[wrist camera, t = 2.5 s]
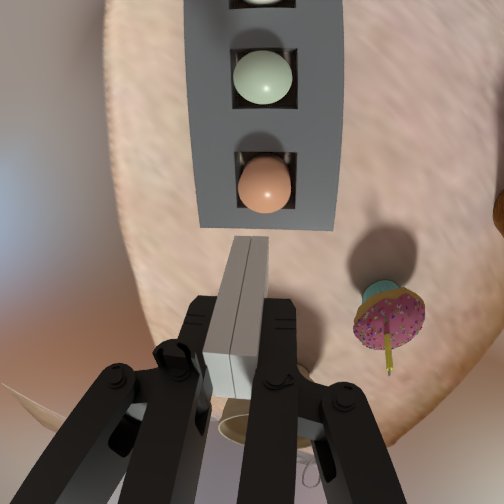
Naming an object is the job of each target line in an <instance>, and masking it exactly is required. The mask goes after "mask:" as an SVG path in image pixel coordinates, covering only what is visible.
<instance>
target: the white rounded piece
mask: <svg viewBox="0 0 504 504" xmlns="http://www.w3.org/2000/svg"><path fill="white" fill-rule="evenodd" d="M243 1H244V2H246V3H247V4H250V5H252V6H256V7H269V6H273V5H276V4H278V3H279V2H281V1H282V0H243Z"/></svg>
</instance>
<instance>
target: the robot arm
mask: <svg viewBox="0 0 504 504" xmlns="http://www.w3.org/2000/svg"><path fill="white" fill-rule="evenodd" d="M268 260H269V237H262V236H252V239H251V236H235V237H234V240H233V244H232V247H231V251H230V254H229V258H228V261H227V265H226V268H225V272H224V275H223V279H222V282H221V286H220V289H219V293H218V297H217V296H201V295H198V296H197V297H196V298H195V299H194V300H193V301H192V302H191V303H190V305H189V308H188V311H187V313H186V316H185V319H184V322H183V325H182V327H181V330H180V333H179V336H178V339H169V340H167V341H164V342H162V343H160V344H159V345H158V346H156V348H155V349H154V351H153V356H154V358H155V360H156V362H157V364H158V367H157V368H154V369H149V370H140V371H133V369H132V368H131V367H130V366H128V365H127V364H123V363H115V364H112V365H110V366H108V367H106V368H105V369H104V370H103V371H102V372H101V374H100V375H99V376H98V377H97V379H96V380H95V381H94V383H93V384H92V385H91V387H90V388H89V389H88V391H87V392H86V393H85V395H84V396H83V397H82V399H81V400H80V401H79V403H78V404H77V405H76V407H75V408H74V409H73V411H72V412H71V414H70V415H69V416H68V418H67V419H66V420H65V422H64V423H63V425H62V426H61V427H60V429H59V430H58V432H57V433H56V435H55V436H54V437H53V439H52V440H51V442H50V443H49V445H48V446H47V447H46V449H45V450H44V452H43V453H42V455H41V456H40V458H39V459H38V461H37V462H36V464H35V465H34V467H33V468H32V470H31V471H30V473H29V474H28V476H27V477H26V479H25V480H24V482H23V484H22V485H21V487H20V488H19V490H18V491H17V493H16V495H15V496H14V498H13V499H12V501H11V502H10V504H107V502H108V501H109V499H110V497H111V496H112V494H113V492H114V491H115V489H116V487H117V486H118V484H119V482H120V481H121V479H122V478H123V476H124V474H125V473H126V475H125V478H124V482H123V486H122V489H121V493H120V497H119V500H118V504H194V502H195V496H196V491H197V484H198V480H199V475H200V469H201V464H202V459H203V453H204V448H205V443H206V438H207V433H208V427H209V422H210V417H211V412H212V405H211V402H210V401H211V396H212V391H213V393H214V396H217V397H227V398H235V397H236V398H237V399H250V407H249V415H248V423H247V431H246V438H245V446H244V455H243V461H242V468H241V476H240V483H239V490H238V498H237V504H294V496H295V480H296V459H297V435H298V436H301V437H304V438H308V439H310V441H311V445H312V448H313V452H314V456H315V459H316V463H317V467H318V470H319V474H320V478H321V481H322V485H323V489H324V492H325V496H326V499H327V503H328V504H407V502H406V499H405V497H404V494H403V491H402V488H401V485H400V483H399V480H398V477H397V474H396V472H395V469H394V467H393V464H392V461H391V458H390V456H389V453H388V450H387V448H386V445H385V443H384V440H383V438H382V435H381V433H380V430H379V428H378V425H377V423H376V420H375V418H374V415H373V413H372V410H371V408H370V406H369V403H368V401H367V398H366V396H365V394H364V393H363V391H362V390H361V388H359V387H358V386H356V385H355V384H352V383H349V382H337V383H335V384H332V385H330V386H329V387H328V386H324V385H321V384H317V383H314V382H312V381H309V380H308V379H306V378H305V377H304V376H303V375H302V374H301V373H300V371H299V369H298V367H297V342H296V308H295V306H294V305H293V303H292V301H291V299H276V298H267V293H268Z"/></svg>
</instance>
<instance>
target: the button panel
mask: <svg viewBox="0 0 504 504" xmlns="http://www.w3.org/2000/svg"><path fill="white" fill-rule="evenodd" d="M184 39H185V63H186V82H187V98H188V112H189V125H190V137H191V148H192V159H193V169H194V179H195V188H196V197H197V205H198V214H199V222H200V228H245V229H283V230H313V231H333V228H334V219H335V211H336V202H337V192H338V182H339V170H340V158H341V144H342V126H343V103H344V27H343V6H342V0H294V8H246V9H234V0H184ZM255 51H270V52H296V107H295V106H238V101H237V89H236V87H235V85H234V80H233V74H234V70H235V67H236V53H244V52H255ZM240 152H295V184H294V196H290V197H289V200H288V201H287V203H286V204H285V205H284V206H283V207H282V208H281V209H279V210H277V211H275V212H272V213H258V212H255V211H253V210H251V209H249V208H248V207H247V206H246V205H245V204H244V203H243V202H242V200H241V199H240V196H239V193H238V184H239V180H240V178H241V175H240Z"/></svg>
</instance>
